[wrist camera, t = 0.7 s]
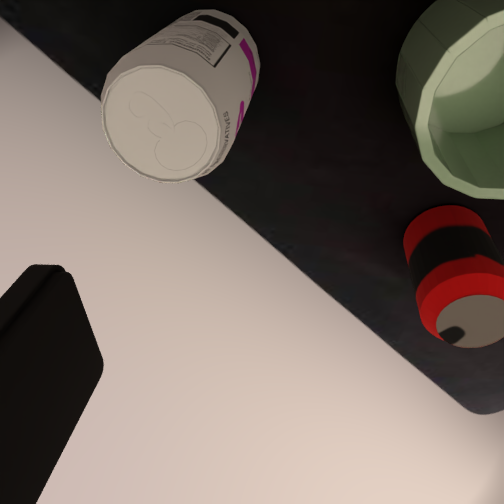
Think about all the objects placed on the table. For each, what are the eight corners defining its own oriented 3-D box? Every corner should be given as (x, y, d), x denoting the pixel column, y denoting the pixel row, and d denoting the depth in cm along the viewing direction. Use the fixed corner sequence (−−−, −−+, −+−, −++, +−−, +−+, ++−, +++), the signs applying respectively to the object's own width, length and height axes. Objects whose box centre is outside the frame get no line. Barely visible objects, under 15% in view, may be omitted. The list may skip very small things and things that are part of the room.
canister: (410, -23, 33) (439, -3, 25) (589, -24, 32) (686, -4, 23) (385, 137, 40) (401, 195, 32) (530, 141, 39) (588, 203, 30)
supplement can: (281, 67, 38) (261, 136, 26) (212, 129, 42) (166, 215, 30) (212, -18, 35) (152, 16, 23) (144, 58, 39) (63, 120, 27)
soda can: (386, 238, 46) (402, 322, 36) (449, 188, 42) (486, 267, 32) (436, 278, 48) (464, 368, 38) (501, 234, 44) (550, 322, 34)
